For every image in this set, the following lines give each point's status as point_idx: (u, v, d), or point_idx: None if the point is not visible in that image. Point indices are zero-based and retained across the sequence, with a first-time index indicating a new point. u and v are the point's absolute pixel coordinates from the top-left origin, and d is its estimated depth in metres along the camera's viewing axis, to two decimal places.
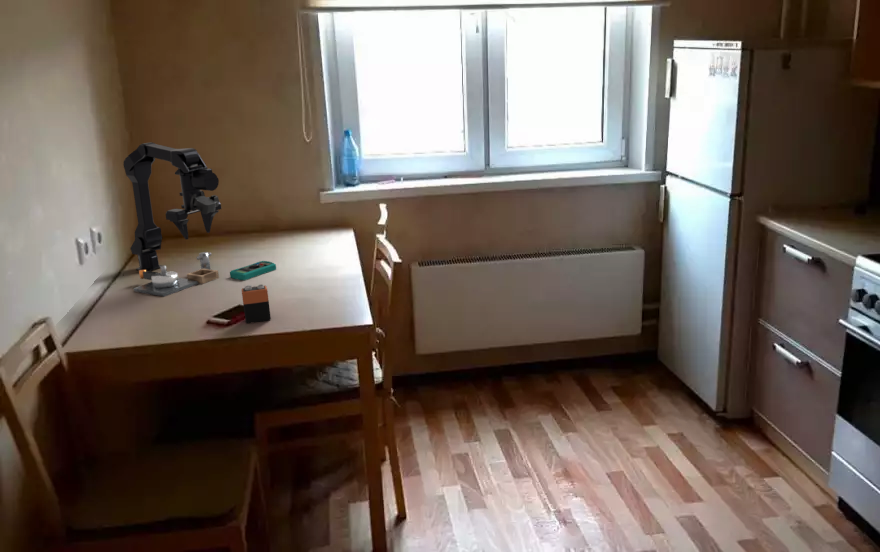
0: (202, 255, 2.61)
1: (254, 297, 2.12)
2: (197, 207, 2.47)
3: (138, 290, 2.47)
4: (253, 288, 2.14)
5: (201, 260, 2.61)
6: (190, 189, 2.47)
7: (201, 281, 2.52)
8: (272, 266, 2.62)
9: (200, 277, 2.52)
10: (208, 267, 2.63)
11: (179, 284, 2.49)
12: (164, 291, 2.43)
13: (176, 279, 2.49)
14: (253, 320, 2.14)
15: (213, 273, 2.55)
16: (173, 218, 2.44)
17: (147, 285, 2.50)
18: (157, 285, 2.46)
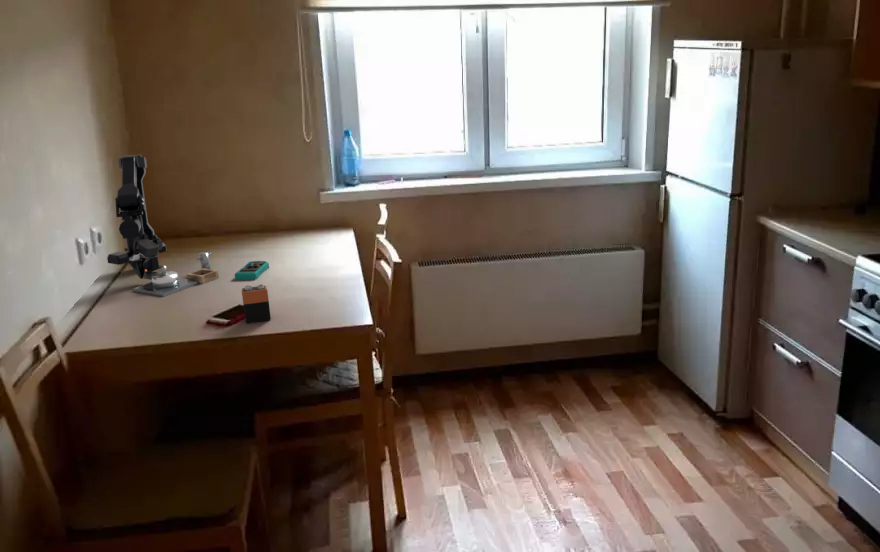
0: (202, 255, 2.61)
1: (254, 297, 2.12)
2: (139, 250, 2.45)
3: (138, 290, 2.47)
4: (253, 288, 2.14)
5: (201, 260, 2.61)
6: None
7: (201, 281, 2.52)
8: (267, 264, 2.65)
9: (200, 277, 2.52)
10: (208, 267, 2.63)
11: (179, 284, 2.49)
12: (164, 291, 2.43)
13: (176, 279, 2.48)
14: (253, 320, 2.14)
15: (213, 273, 2.55)
16: (114, 261, 2.42)
17: (147, 285, 2.50)
18: (157, 285, 2.46)
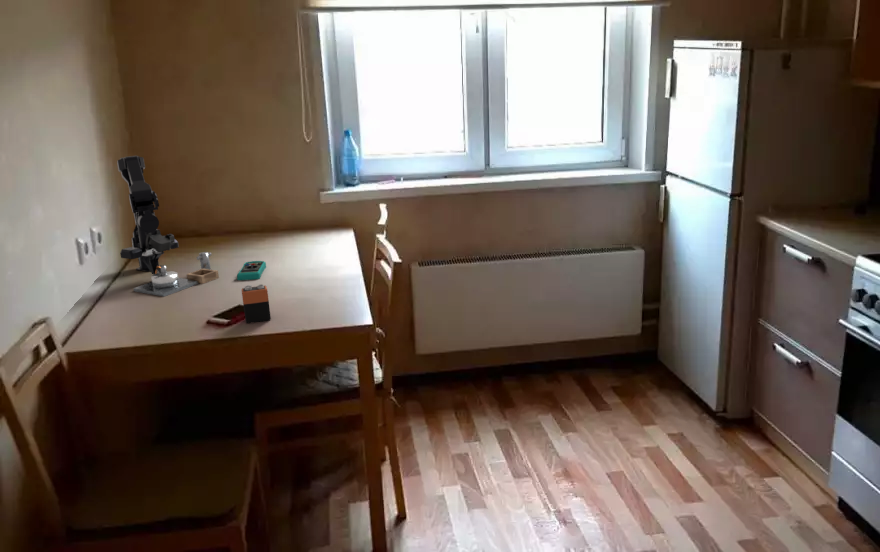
0: (202, 255, 2.61)
1: (254, 297, 2.12)
2: (152, 246, 2.49)
3: (138, 290, 2.47)
4: (253, 288, 2.14)
5: (201, 260, 2.61)
6: (141, 228, 2.49)
7: (201, 281, 2.52)
8: (264, 264, 2.65)
9: (200, 277, 2.52)
10: (208, 267, 2.63)
11: (179, 284, 2.49)
12: (164, 291, 2.43)
13: (172, 281, 2.47)
14: (253, 320, 2.14)
15: (213, 273, 2.55)
16: (127, 256, 2.45)
17: (147, 285, 2.50)
18: (153, 284, 2.47)
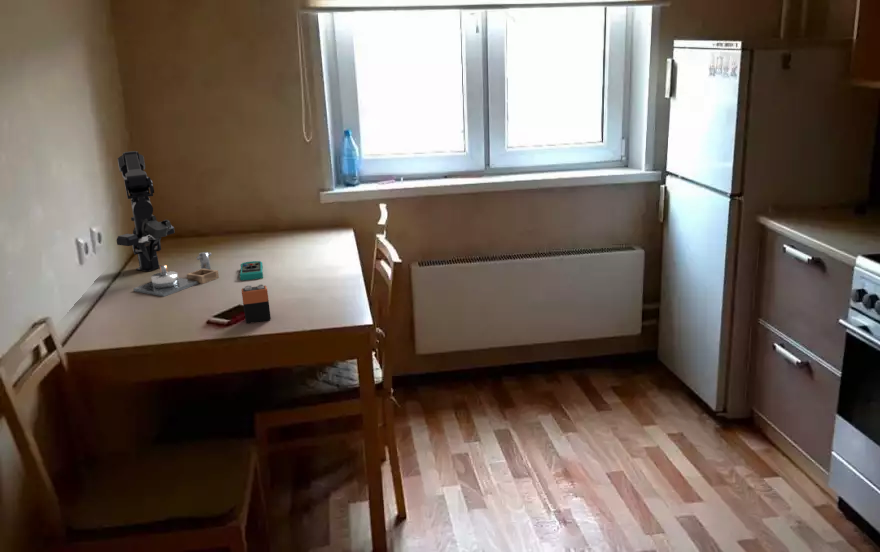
0: (202, 255, 2.61)
1: (254, 297, 2.12)
2: (148, 232, 2.47)
3: (138, 290, 2.47)
4: (253, 288, 2.14)
5: (201, 260, 2.61)
6: None
7: (201, 281, 2.52)
8: None
9: (200, 277, 2.52)
10: (208, 267, 2.63)
11: (179, 284, 2.49)
12: (164, 291, 2.43)
13: (170, 281, 2.46)
14: (253, 320, 2.14)
15: (213, 273, 2.55)
16: (124, 243, 2.44)
17: (147, 285, 2.50)
18: None
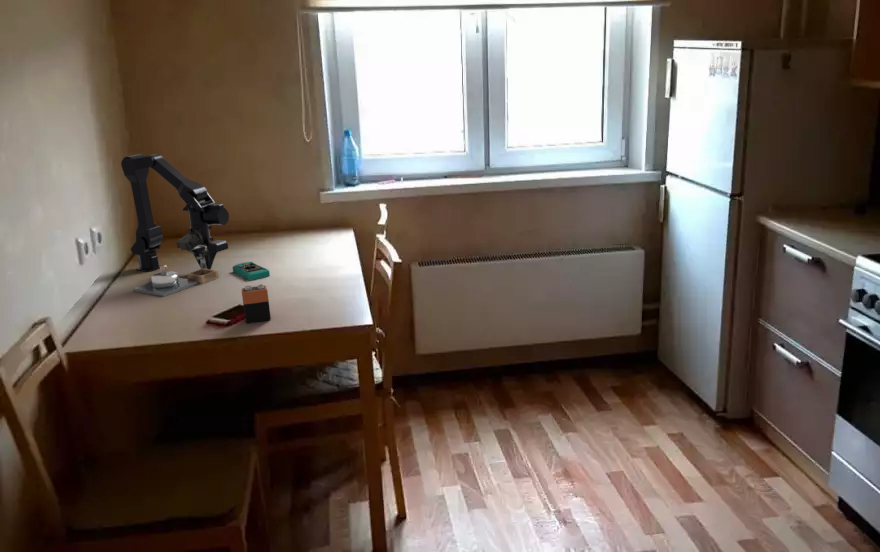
0: (202, 255, 2.61)
1: (254, 297, 2.12)
2: None
3: (138, 290, 2.47)
4: (253, 288, 2.14)
5: (201, 259, 2.61)
6: (200, 224, 2.56)
7: (201, 281, 2.52)
8: None
9: (200, 277, 2.52)
10: None
11: (179, 284, 2.49)
12: (164, 291, 2.43)
13: (170, 281, 2.46)
14: (253, 320, 2.14)
15: (213, 273, 2.55)
16: None
17: (147, 285, 2.50)
18: None
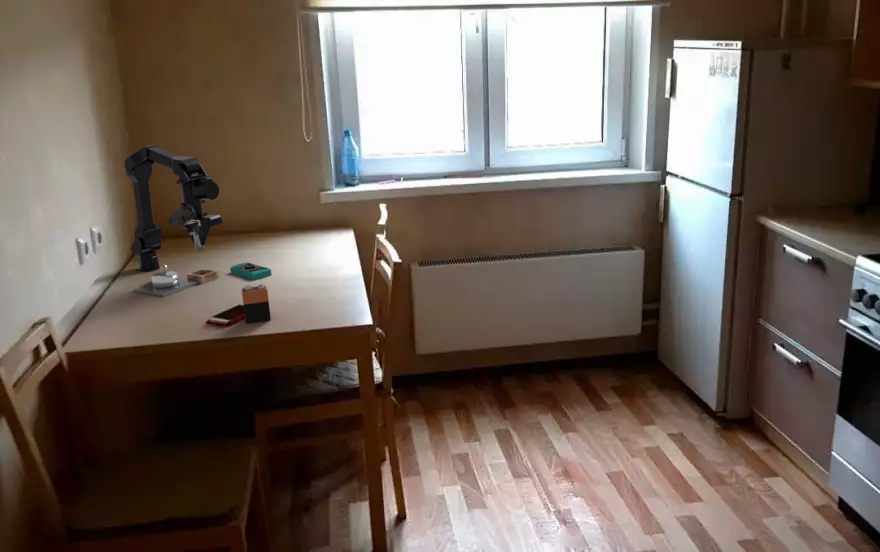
0: (195, 230, 2.51)
1: (254, 297, 2.12)
2: None
3: (138, 290, 2.47)
4: (253, 288, 2.14)
5: (194, 235, 2.51)
6: (191, 198, 2.46)
7: (201, 281, 2.52)
8: None
9: (200, 277, 2.52)
10: None
11: (179, 284, 2.49)
12: (164, 291, 2.43)
13: (170, 281, 2.46)
14: (253, 320, 2.14)
15: (213, 273, 2.55)
16: None
17: (147, 285, 2.50)
18: None
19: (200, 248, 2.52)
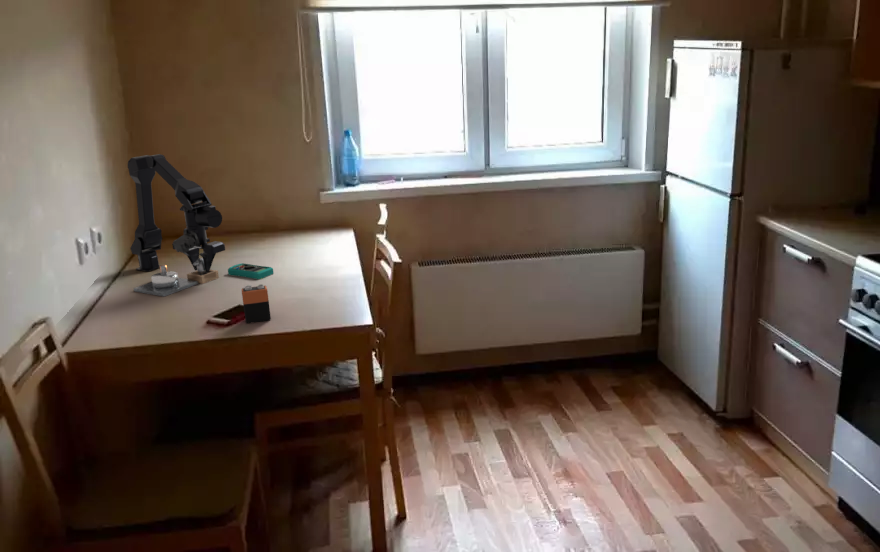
0: (199, 261, 2.53)
1: (254, 297, 2.12)
2: None
3: (138, 290, 2.47)
4: (253, 288, 2.14)
5: (197, 266, 2.54)
6: (194, 225, 2.48)
7: (201, 281, 2.52)
8: None
9: (200, 277, 2.52)
10: (205, 273, 2.55)
11: (179, 284, 2.49)
12: (164, 291, 2.43)
13: (170, 281, 2.46)
14: (253, 320, 2.14)
15: (213, 273, 2.55)
16: None
17: (147, 285, 2.50)
18: None
19: None
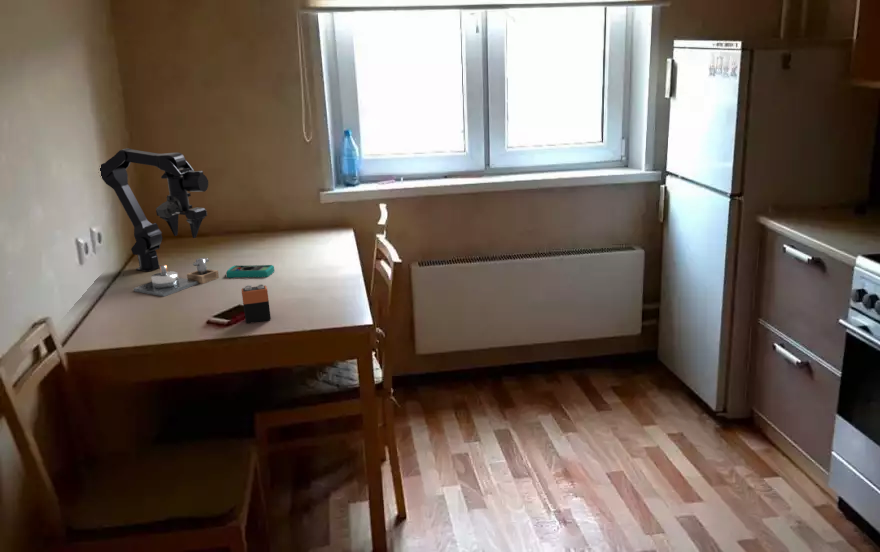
0: (199, 261, 2.53)
1: (254, 297, 2.12)
2: None
3: (138, 290, 2.47)
4: (253, 288, 2.14)
5: (197, 266, 2.54)
6: (180, 191, 2.57)
7: (201, 281, 2.52)
8: None
9: (200, 277, 2.52)
10: (205, 273, 2.55)
11: (179, 284, 2.49)
12: (164, 291, 2.43)
13: (170, 281, 2.46)
14: (253, 320, 2.14)
15: (213, 273, 2.55)
16: None
17: (147, 285, 2.50)
18: None
19: None
